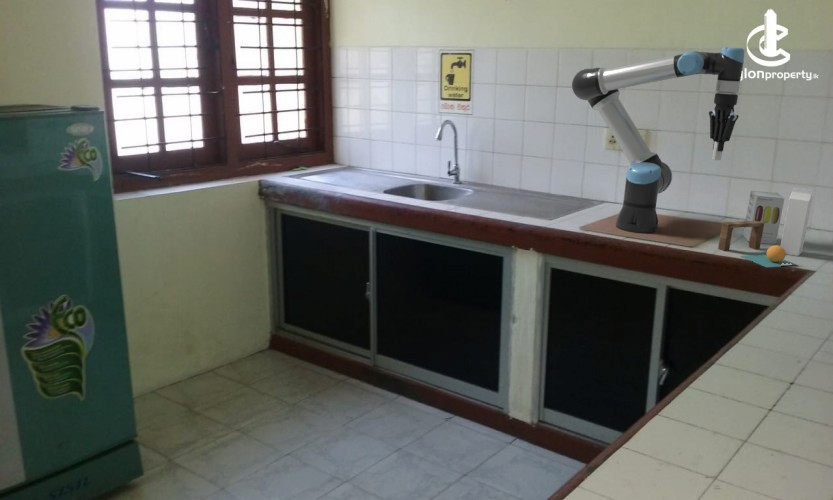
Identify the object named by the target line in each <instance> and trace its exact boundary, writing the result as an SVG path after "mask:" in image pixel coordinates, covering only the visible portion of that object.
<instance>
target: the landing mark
mask: <svg viewBox="0 0 833 500" xmlns="http://www.w3.org/2000/svg"><path fill="white" fill-rule="evenodd" d="M740 257H741V258H743V259H745V258H746V259H745V260H748V259H749V260H748V261H750V260H751V261H750V262H752V261H753V263H755V264H757V265H760V266H762V267H765V268H782V267H781V266H783V265H781V264H782V263H784V264H786V263H788V264H790V263H791V264H792V265H797V264H796V263H793V262H791V261H788V260H786V259H785V258H784V259H783V260H782V261H781V262H772V261H770V260H769V259H768V257H767V253H765V254H754V255H753V254H751V255H740Z"/></svg>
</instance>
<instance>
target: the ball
mask: <svg viewBox="0 0 833 500" xmlns="http://www.w3.org/2000/svg"><path fill="white" fill-rule="evenodd" d="M766 254H767V257H768V259H769V260H770V261H772V262H781V261H782V260H783V259H784V260H785V258H786V256H787V254H786V252H785V250H784V248H782V247H781V246H780V245H777V244H773V245H772V246H770V247H768V249H767V250H766Z"/></svg>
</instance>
